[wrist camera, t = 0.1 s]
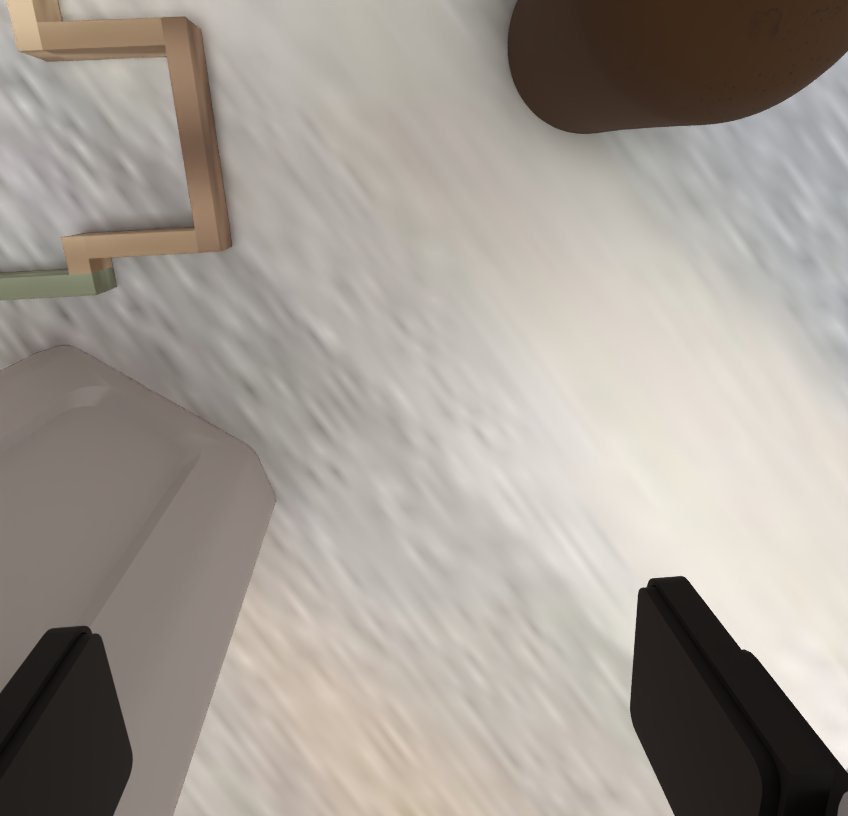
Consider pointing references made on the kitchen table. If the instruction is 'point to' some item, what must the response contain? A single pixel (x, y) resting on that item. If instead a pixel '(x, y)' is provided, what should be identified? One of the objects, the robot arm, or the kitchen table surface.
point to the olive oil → (668, 58)
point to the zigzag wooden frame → (184, 50)
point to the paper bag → (126, 546)
